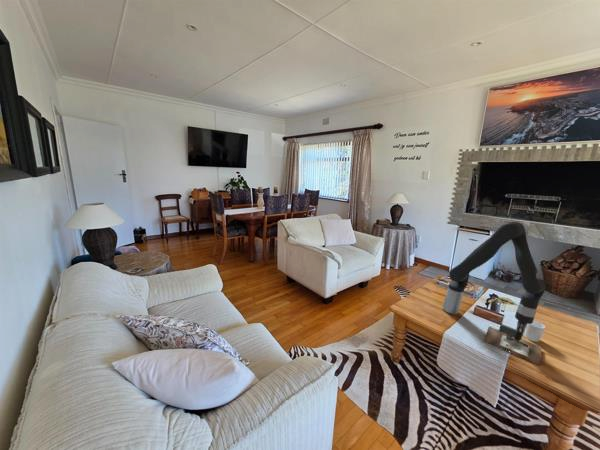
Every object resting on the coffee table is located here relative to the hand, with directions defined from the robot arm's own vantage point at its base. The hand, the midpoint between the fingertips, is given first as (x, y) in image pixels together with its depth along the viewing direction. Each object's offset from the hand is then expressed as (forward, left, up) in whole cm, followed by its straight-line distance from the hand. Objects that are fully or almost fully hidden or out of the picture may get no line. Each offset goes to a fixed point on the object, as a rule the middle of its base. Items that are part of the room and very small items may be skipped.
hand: (517, 338), depth 140 cm
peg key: (-2, 0, -2) cm, 3 cm away
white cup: (+6, +16, -5) cm, 18 cm away
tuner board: (-2, -2, -4) cm, 5 cm away
